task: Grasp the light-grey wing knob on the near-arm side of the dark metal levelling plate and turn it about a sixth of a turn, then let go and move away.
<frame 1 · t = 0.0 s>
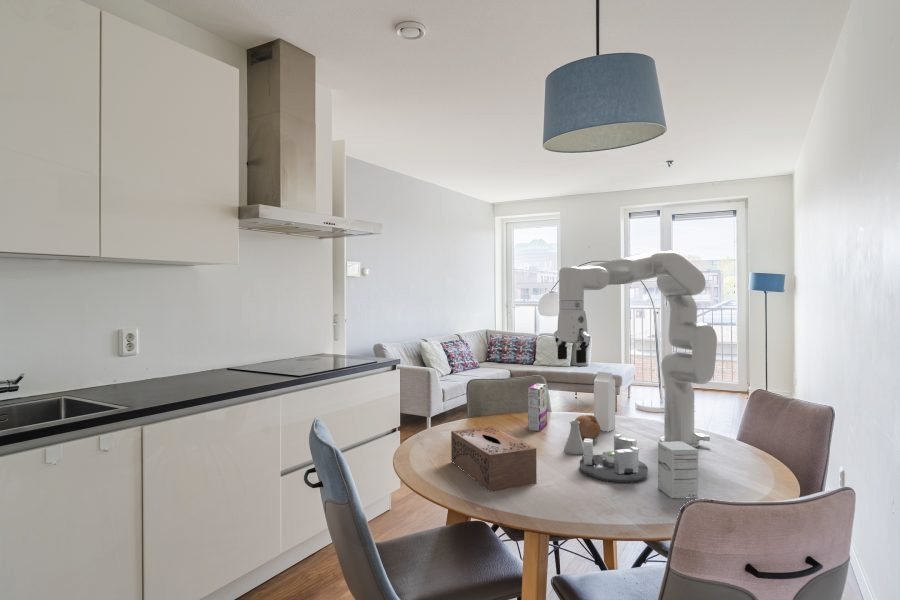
hand: (571, 360, 159), 31 cm above the table, tool pointing down, fingers open, 9 cm apart
knob 2: (626, 460, 142), point 6 cm above the table, hinge at 0.0°
tissue box cover: (491, 473, 149), on the table
knob 1: (625, 447, 154), point 6 cm above the table, hinge at 0.0°
milk: (604, 429, 195), on the table
candy bar box: (537, 428, 198), on the table
knob front: (588, 450, 151), point 6 cm above the table, hinge at 0.0°
flask: (574, 452, 168), on the table
levelling plate: (613, 471, 149), on the table
onion: (586, 440, 181), on the table
supplement box: (677, 494, 133), on the table
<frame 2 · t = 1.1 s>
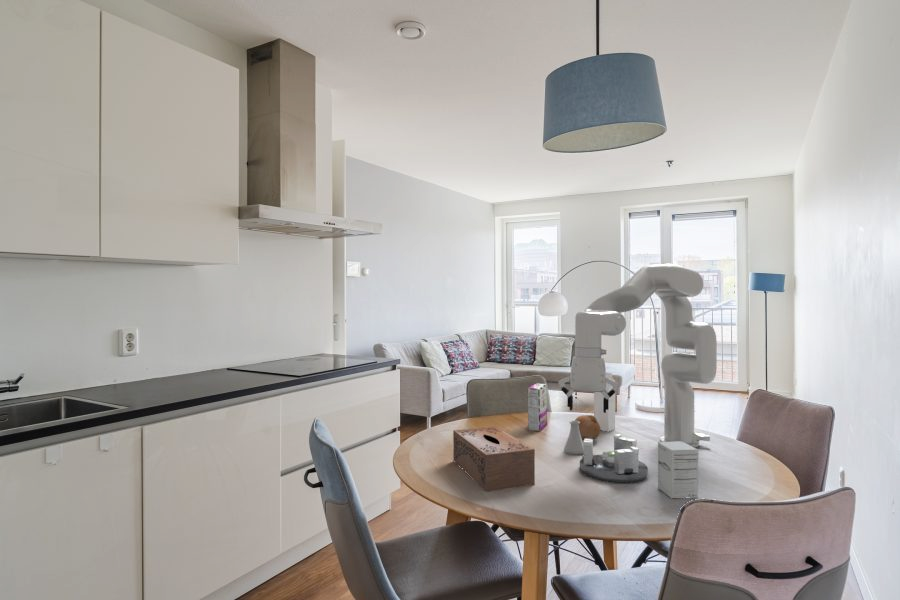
hand: (587, 410, 151), 17 cm above the table, tool pointing down, fingers open, 9 cm apart
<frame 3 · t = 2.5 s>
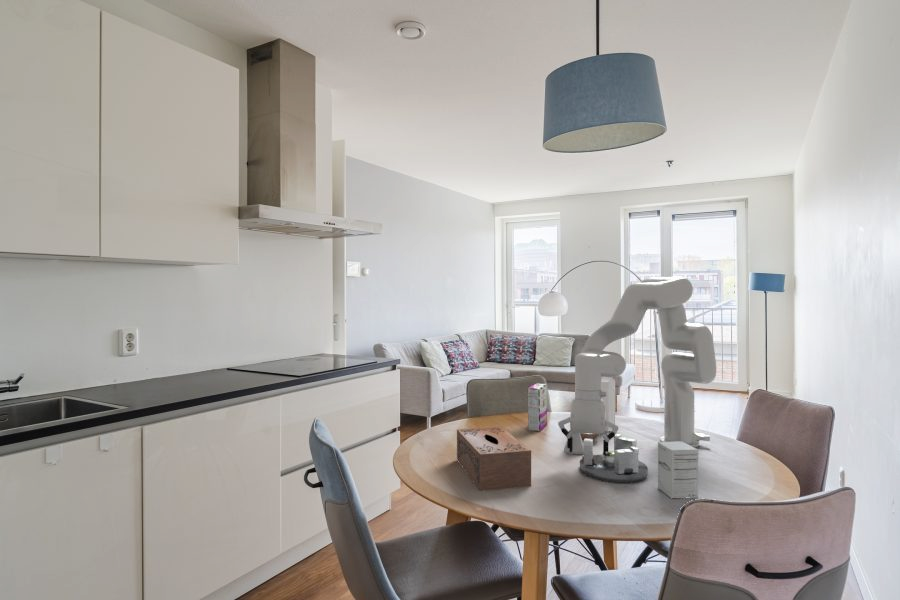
hand: (587, 452, 151), 5 cm above the table, tool pointing down, fingers open, 9 cm apart
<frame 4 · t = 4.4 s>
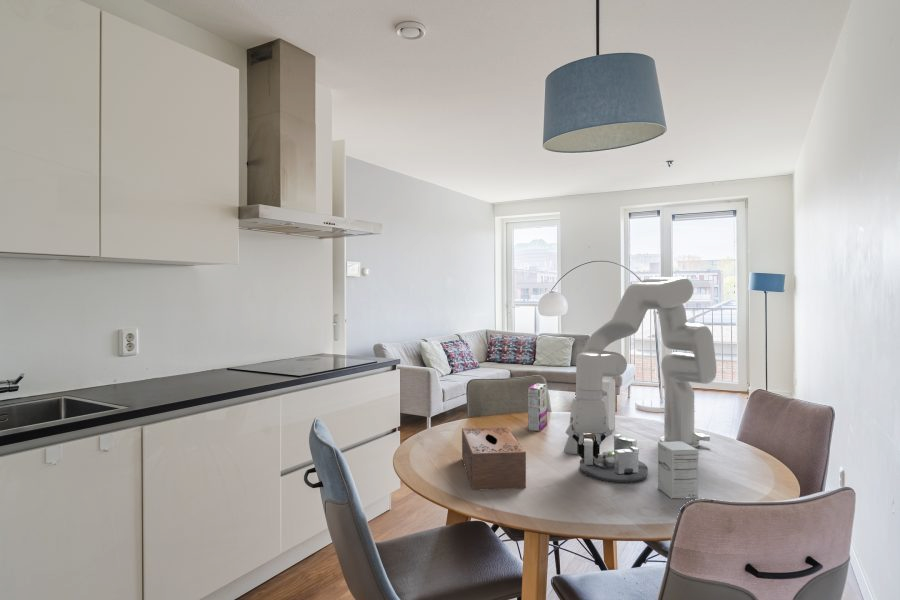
hand: (588, 456, 150), 4 cm above the table, tool pointing down, fingers closed on knob front, 3 cm apart
knob front: (588, 450, 151), point 6 cm above the table, hinge at 3.7°, touching gripper
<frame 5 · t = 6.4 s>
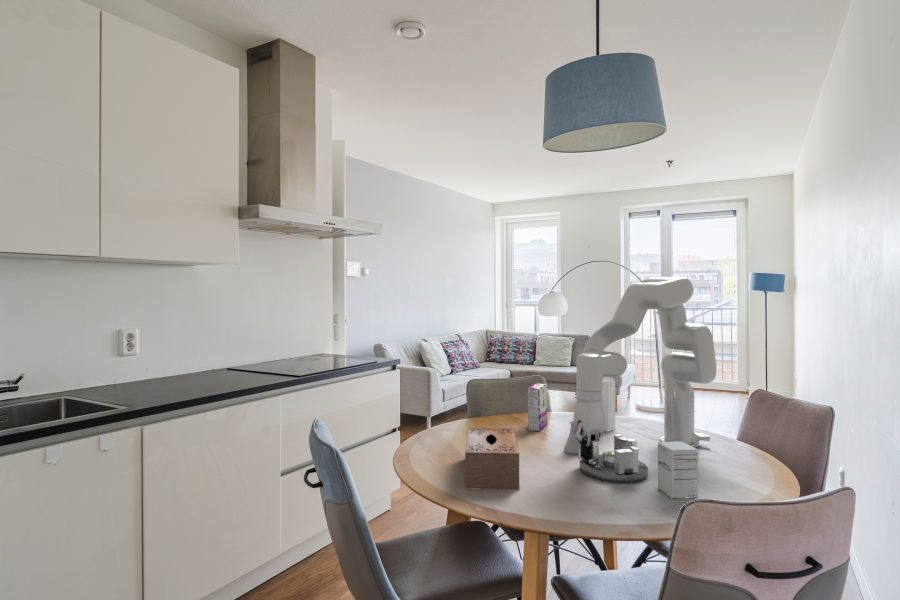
hand: (589, 456, 151), 4 cm above the table, tool pointing down, fingers closed on knob front, 3 cm apart
knob front: (588, 450, 151), point 6 cm above the table, hinge at 48.4°, touching gripper
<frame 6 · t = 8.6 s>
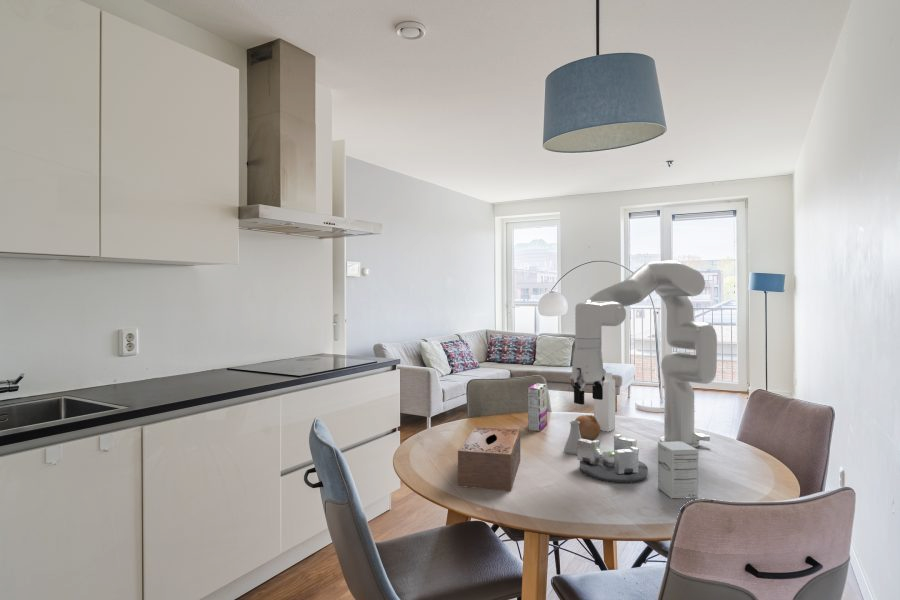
hand: (588, 401, 151), 20 cm above the table, tool pointing down, fingers open, 9 cm apart
knob front: (588, 450, 151), point 6 cm above the table, hinge at 58.2°
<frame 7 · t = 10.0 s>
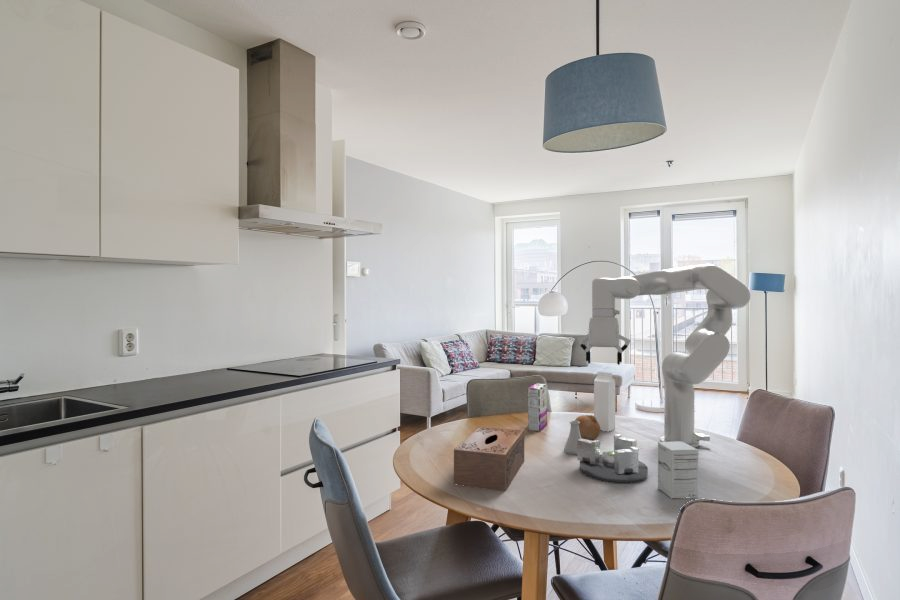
hand: (603, 363, 174), 28 cm above the table, tool pointing down, fingers open, 9 cm apart
knob front: (588, 450, 151), point 6 cm above the table, hinge at 59.4°
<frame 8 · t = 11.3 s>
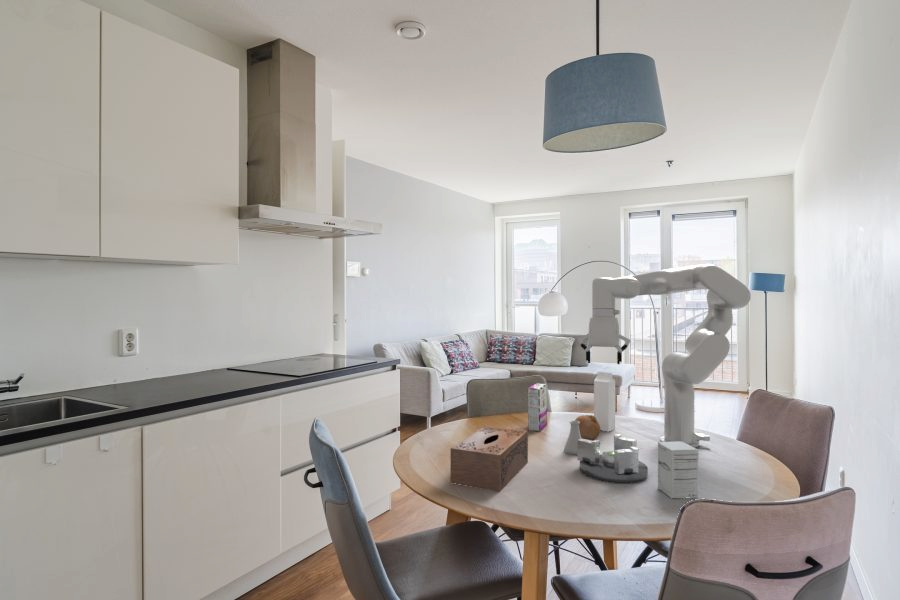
hand: (603, 363, 174), 28 cm above the table, tool pointing down, fingers open, 9 cm apart
knob front: (588, 450, 151), point 6 cm above the table, hinge at 59.8°
at the end: knob front at +60° (first picture: +0°); the gripper is holding nothing; knob 2 at +0° (first picture: +0°) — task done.
